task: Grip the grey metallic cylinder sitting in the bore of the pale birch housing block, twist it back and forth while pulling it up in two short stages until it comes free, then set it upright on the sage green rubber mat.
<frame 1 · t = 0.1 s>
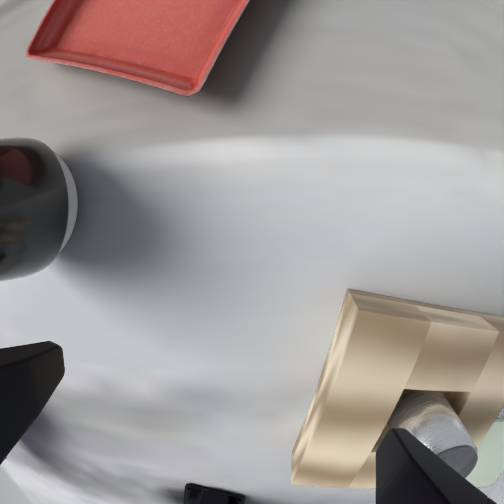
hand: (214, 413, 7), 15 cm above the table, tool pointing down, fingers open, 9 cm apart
grey metallic cylinder: (411, 401, 21), point 1 cm above the table, touching housing
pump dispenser: (52, 201, 23), on the table
mat: (485, 456, 23), on the table
housing: (408, 394, 22), on the table
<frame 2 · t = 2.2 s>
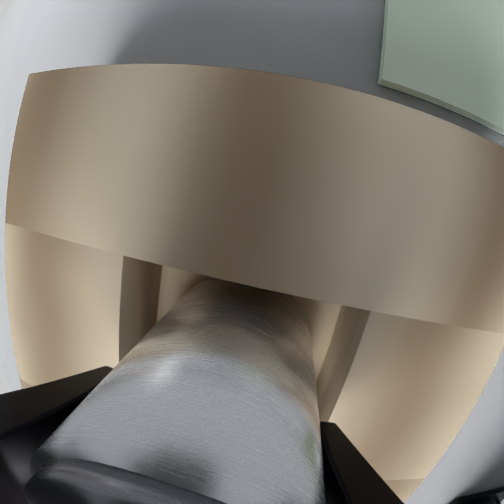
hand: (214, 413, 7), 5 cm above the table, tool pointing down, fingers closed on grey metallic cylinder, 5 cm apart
grey metallic cylinder: (238, 341, 11), point 1 cm above the table, touching gripper, housing
mat: (500, 25, 8), on the table
housing: (242, 329, 12), on the table
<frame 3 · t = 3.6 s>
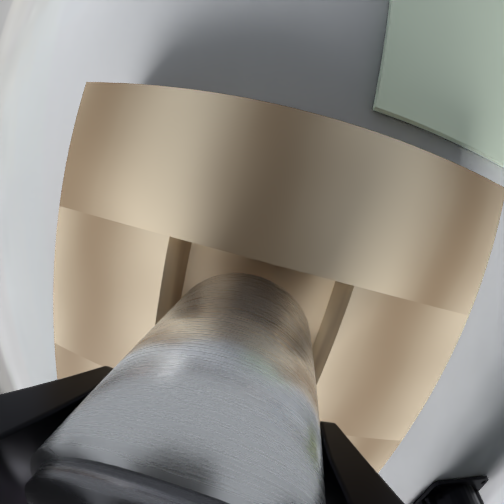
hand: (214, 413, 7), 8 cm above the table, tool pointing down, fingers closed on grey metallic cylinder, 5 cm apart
grey metallic cylinder: (239, 341, 11), point 4 cm above the table, touching gripper
mat: (487, 56, 11), on the table
housing: (252, 305, 15), on the table
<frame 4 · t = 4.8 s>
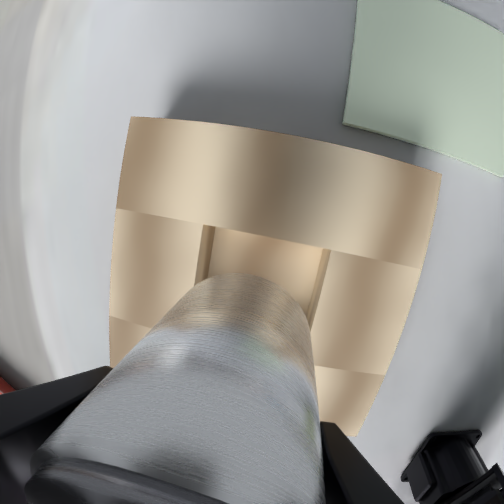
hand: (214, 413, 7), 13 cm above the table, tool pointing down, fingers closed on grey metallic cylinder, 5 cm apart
grey metallic cylinder: (239, 341, 11), point 9 cm above the table, touching gripper
mat: (438, 68, 15), on the table
housing: (261, 276, 20), on the table
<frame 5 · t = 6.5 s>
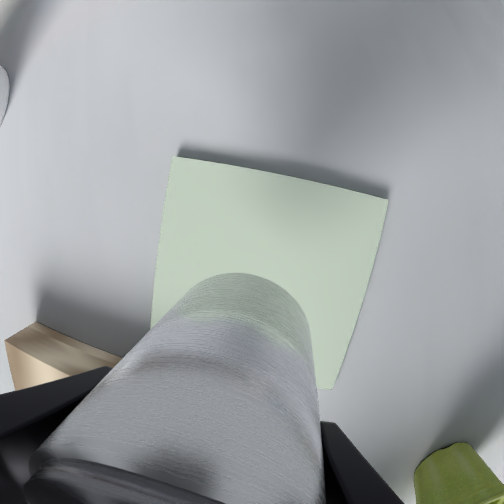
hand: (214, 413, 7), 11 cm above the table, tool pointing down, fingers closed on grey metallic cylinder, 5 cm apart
grey metallic cylinder: (239, 341, 11), point 7 cm above the table, touching gripper
mat: (259, 280, 18), on the table
housing: (118, 428, 22), on the table
plant pot: (441, 462, 20), on the table
when the fingers open (6 cm above the table, at t = 7.7 s): grey metallic cylinder drops 2 cm, resting on mat.
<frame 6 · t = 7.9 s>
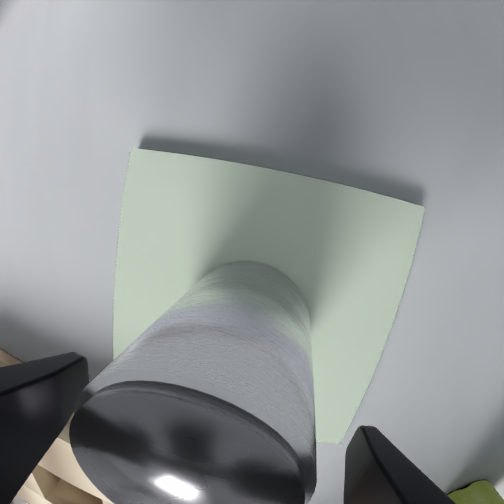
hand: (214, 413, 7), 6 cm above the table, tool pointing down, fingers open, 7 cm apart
grey metallic cylinder: (247, 321, 13), point 1 cm above the table, touching mat
mat: (248, 314, 13), on the table
housing: (92, 466, 17), on the table
plant pot: (457, 500, 15), on the table
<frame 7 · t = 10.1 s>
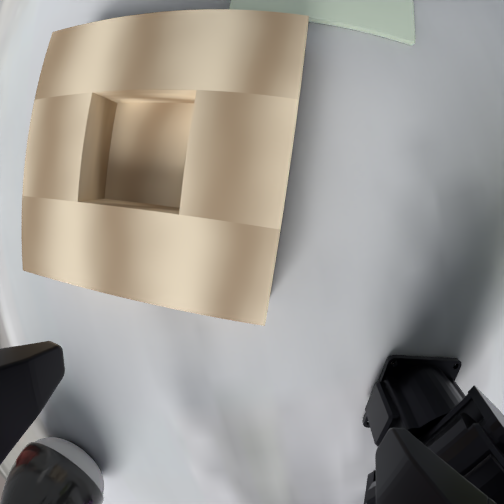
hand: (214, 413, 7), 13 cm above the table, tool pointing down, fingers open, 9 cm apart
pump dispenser: (77, 455, 26), on the table
housing: (159, 153, 19), on the table
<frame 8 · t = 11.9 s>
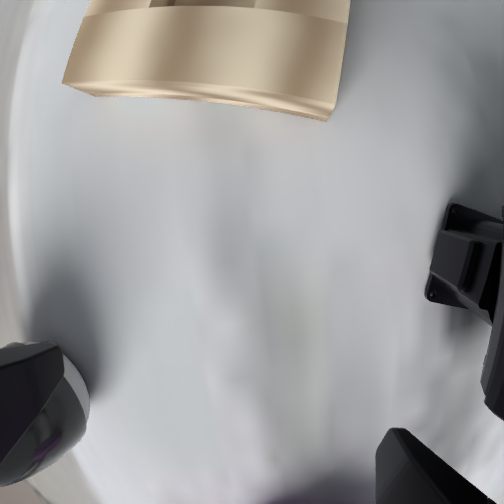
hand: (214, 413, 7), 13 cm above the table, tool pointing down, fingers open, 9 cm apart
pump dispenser: (61, 375, 24), on the table
housing: (224, 0, 16), on the table
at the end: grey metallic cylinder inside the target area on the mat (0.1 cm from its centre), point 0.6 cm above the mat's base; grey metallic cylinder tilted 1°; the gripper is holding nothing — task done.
